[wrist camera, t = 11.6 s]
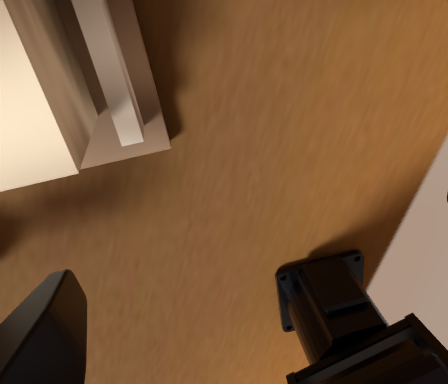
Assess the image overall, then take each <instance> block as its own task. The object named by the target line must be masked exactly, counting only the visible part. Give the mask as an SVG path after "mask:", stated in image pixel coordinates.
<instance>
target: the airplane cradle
mask: <svg viewBox="0 0 448 384" xmlns="http://www.w3.org/2000/svg"><path fill="white" fill-rule="evenodd" d="M56 3H57V6H58V8H59V11H60V14H61V16H62V19H63V22H64V25H65V27H66V30H67V33H68V35H69V38H70V41H71V44H72V46H73V49H74V52H75V55H76V57H77V60H78V63H79V65H80V68H81V71H82V74H83V76H84V79H85V82H86V84H87V87H88V90H89V93H90V95H91V98H92V101H93V103H94V106H95V109H96V112H97V114H98V117H97V120H96V123H95V126H94V129H93V132H92V135H91V138H90V141H89V144H88V147H87V150H86V153H85V156H84V159H83V162H82V165H81V168H80V169H85V168H89V167H93V166H98V165H102V164H106V163H111V162H115V161H119V160H123V159H128V158H132V157H136V156H141V155H145V154H149V153H154V152H158V151H162V150H167V149H171V144H170V139H169V135H168V131H167V128H166V124H165V120H164V116H163V113H162V109H161V105H160V101H159V98H158V94H157V90H156V86H155V83H154V79H153V75H152V71H151V68H150V64H149V60H148V56H147V53H146V49H145V45H144V42H143V38H142V34H141V30H140V27H139V23H138V19H137V15H136V12H135V8H134V4H133V0H56Z"/></svg>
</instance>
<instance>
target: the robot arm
mask: <svg viewBox="0 0 448 384" xmlns="http://www.w3.org/2000/svg"><path fill="white" fill-rule="evenodd" d="M447 202H448V195H447ZM355 257H356V258H355ZM363 264H364V256H363V254H362V253H361V252H360V251H359V250H354V251H350V252H346V253H342V254H338V255H334V256H331V257H327V258H323V259H319V260H315V261H311V262H307V263H303V264H300V265H296V266H292V267H288V268H284V269H281V270H278V271H277V272H276V274H275V279H276V286H277V294H278V302H279V310H280V318H281V325H282V328H283V330H284V331H285V332H291V331H294V330H295V331H296V333H297V336H298V338H299V340H300V343H301V345H302V348H303V350H304V352H305V355H306V357H307V360H308V362H309V364H310V366H308V367H306V368H304V369H302V370H300V371H298V372H296V373H294V372H292V373H290V374H288V375H286V378H287V383H288V384H448V350H447V349H446V348H445V347H444V346H443V345H442V344H441V343H440V342H439V341H438V340H437V339H436V337H435V336H434V335H433V334H432V333H431V332H430V331H429V330H428V329H427V328H426V327H425V326H424V325H423V323H422V322H421V321H420V320H419V319H418V318H417V317H416V316H415V315H414V314H413V313H411V314H409V315H407V316H405V319H402V320H400V321H398V322H396V323H394V324H392V325H390V326H389V324H388V323H387V322H386V320H385V319H384V317H383V316H382V314H381V313H380V312H379V310H378V308H377V307H376V306H375V304H374V303H373V301H372V300H371V299H370V297H369V296H368V294H367V292H366V291H365V290H364V288H363V287H362V285H363ZM281 276H283V277H281ZM86 354H87V299H86V296H85V293H84V292H83V290H82V288H81V286H80V284H79V282H78V281H77V279H76V277H75V275H74V273H73V272H72V271H71V270H68V269H66V270H62V271H58V272H54V273H51V274H50V275H48V276H47V277H46V278H45V279H44V281H43V282H42V283H41V284H40V285H39V286H38V287H37V288H36V289H35V290H34V291H33V292H32V293H31V294H30V295H29V296H28V297H27V298H26V299H25V300H24V301H23V302H22V303H21V304H20V305H19V306H18V307H17V308H16V309H15V310H14V311H13V312H12V313H11V314H10V315H9V316H8V317H7V318H6V319H5V320H4V321H3V322H2V323H1V324H0V384H84V382H85V373H86Z"/></svg>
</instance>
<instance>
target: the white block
mask: <svg viewBox="0 0 448 384" xmlns="http://www.w3.org/2000/svg"><path fill="white" fill-rule="evenodd" d="M97 117H98V114H97V112H96V109H95V106H94V103H93V101H92V98H91V95H90V93H89V90H88V87H87V84H86V82H85V79H84V76H83V74H82V71H81V68H80V65H79V63H78V60H77V57H76V55H75V52H74V49H73V46H72V44H71V41H70V38H69V35H68V33H67V30H66V27H65V25H64V22H63V19H62V16H61V14H60V11H59V8H58V6H57V3H56V0H0V192H1V191H5V190H9V189H14V188H18V187H22V186H27V185H31V184H35V183H40V182H44V181H48V180H52V179H57V178H61V177H65V176H70V175H74V174H78V173H79V171H80V168H81V165H82V162H83V159H84V156H85V153H86V150H87V147H88V144H89V141H90V138H91V135H92V132H93V129H94V126H95V123H96V120H97Z"/></svg>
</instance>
